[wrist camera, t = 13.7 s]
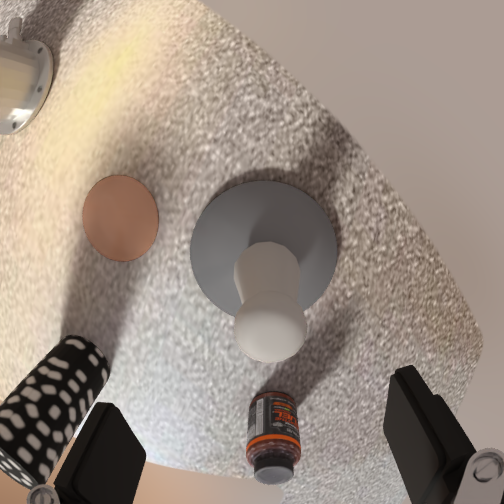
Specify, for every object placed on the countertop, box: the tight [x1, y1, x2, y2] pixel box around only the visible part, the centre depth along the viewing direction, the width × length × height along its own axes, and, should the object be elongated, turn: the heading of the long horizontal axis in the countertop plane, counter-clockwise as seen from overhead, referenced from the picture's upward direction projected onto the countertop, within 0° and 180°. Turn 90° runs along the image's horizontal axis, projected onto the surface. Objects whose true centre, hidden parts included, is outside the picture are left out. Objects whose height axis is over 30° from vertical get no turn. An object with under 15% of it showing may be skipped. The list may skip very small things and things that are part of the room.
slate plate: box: [190, 180, 337, 317], centre depth 29 cm, size 14×14×1 cm
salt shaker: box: [234, 241, 307, 363], centre depth 23 cm, size 6×6×13 cm
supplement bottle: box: [246, 392, 301, 485], centre depth 30 cm, size 6×6×11 cm
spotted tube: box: [0, 335, 110, 490], centre depth 25 cm, size 8×8×20 cm
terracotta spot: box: [83, 175, 158, 262], centre depth 29 cm, size 9×9×1 cm
